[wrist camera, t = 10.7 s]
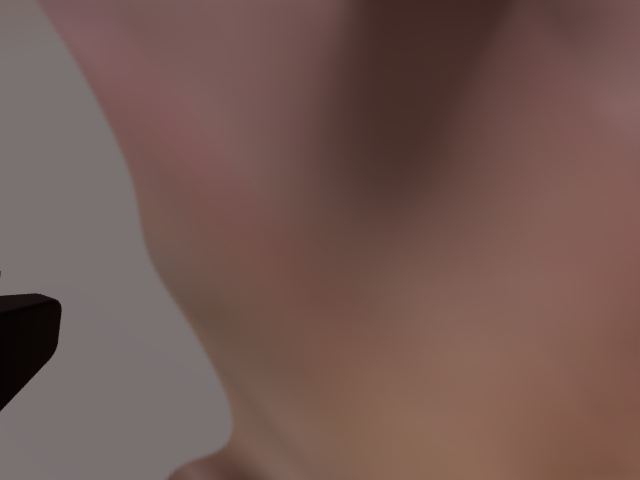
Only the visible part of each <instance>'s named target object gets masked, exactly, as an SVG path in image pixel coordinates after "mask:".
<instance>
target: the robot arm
mask: <svg viewBox="0 0 640 480" xmlns="http://www.w3.org/2000/svg"><path fill="white" fill-rule="evenodd" d="M61 309H62V308H61V304H60V303H59V301H58V300H56V299H53V298H50V297H47V296H45V295H42V294H36V293H34V294H20V295H6V296H0V411H1V410H2V409H3V408H4V407H5V406H6V405H7V404H8V403H9V402H10V401H11V400H12V398H13V397H14V396H15V395H16V394H17V393H18V392H19V391H20V390H21V389H22V388H23V387H24V386H25V385H26V384H27V383H28V382H29V381H30V379H32V377H33V376H34V375H35V374H36V373H37V372H38V371H39V370H40V369H41V368H42V367H43V366H44V365H45V364H46V363H47V362H48V361H49V360H50V358H51V357H52V355H53V354H54V352H55V350H56V348H57V344H58V337H59V329H60V320H61V312H62V310H61Z"/></svg>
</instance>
